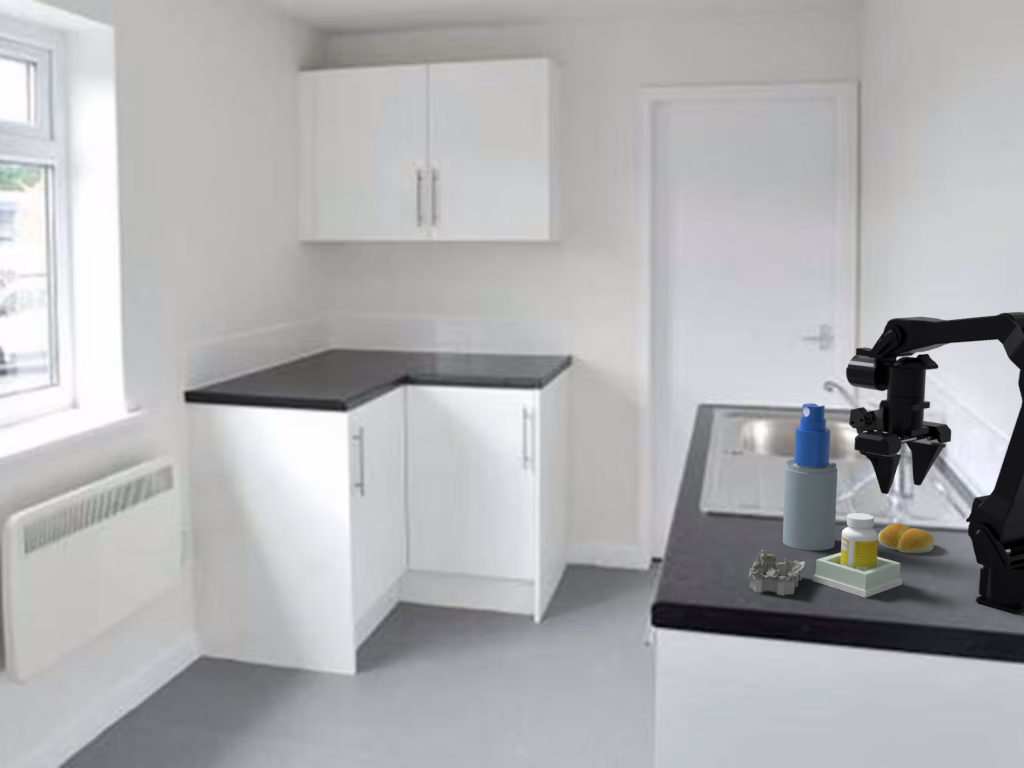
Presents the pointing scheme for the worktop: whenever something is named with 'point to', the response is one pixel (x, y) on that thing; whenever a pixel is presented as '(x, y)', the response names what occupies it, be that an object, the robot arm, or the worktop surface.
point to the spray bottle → (810, 485)
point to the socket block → (857, 576)
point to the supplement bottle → (859, 542)
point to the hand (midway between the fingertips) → (901, 489)
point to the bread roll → (906, 539)
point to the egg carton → (774, 574)
